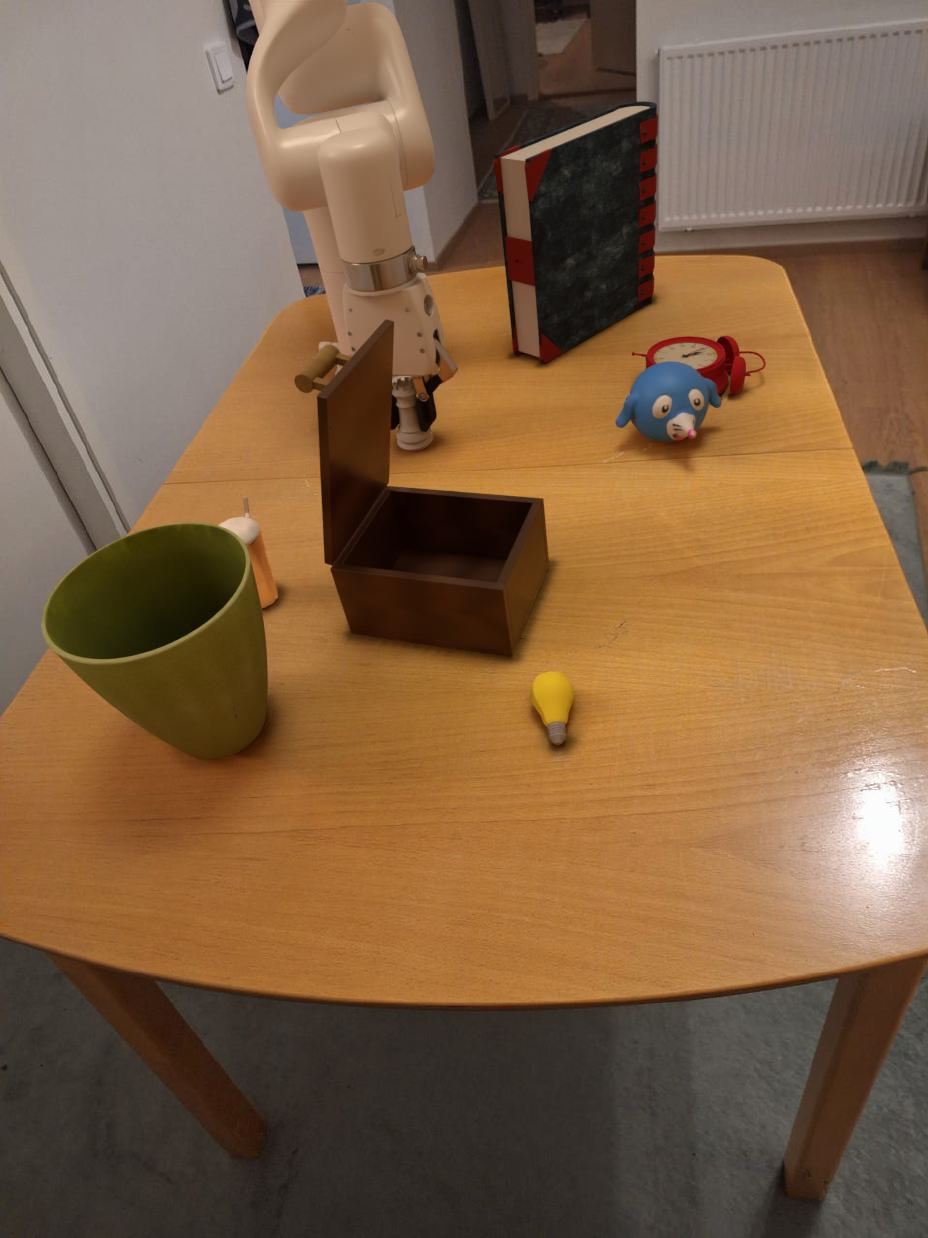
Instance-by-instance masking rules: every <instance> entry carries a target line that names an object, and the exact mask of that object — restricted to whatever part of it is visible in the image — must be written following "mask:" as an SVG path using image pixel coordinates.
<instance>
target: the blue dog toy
mask: <svg viewBox="0 0 928 1238" xmlns="http://www.w3.org/2000/svg"><path fill="white" fill-rule="evenodd" d="M709 405H710V406H712V408H715V409H719V408H721V406H722V398H721V397H720V396H719V394H718V393H717V387H716V384H715V383H714V382H713V381H712V380H710V379H706V378H704V377H702V376H701V375H700V374H699V372H698V371H697V370H695V369H694V368H693V367H691V366H689V365H687V364H684V363H681V362H673V361H669V362H661V363H658V364H655V365H653V366H651V367H649V368H647V369H646V370H645V369H644V370H643V371H642V372H640V374H639V375H637V377H636V378H635V380H634V381H633V383H632V385H631V388H630V390H629V395H627V397H626V399H625V401H624V402H623V404H622V408H621V410H620V412H619V414H618V416H617V417H616V419H615V421H614V422H615V425H616V427H617V428H618V429H623V428H625V427H627V425H628V424H629V423H630V422H631V424H632V425H633V427H635V429H636V430H637V431H638V432H639V434H641V435H642V436H643V437H645V438H647V439H648V440H650V441H654V442H656V443H675V442H679V441H683V440H684V439H686V438H688V439H691V440H692V439H694V438H696V437H697V430H698V429H699V428H700V427H701V425H702V424H703V422H704V420H705V418H706V417H707V416H706V415H707V414H708V409H709Z"/></svg>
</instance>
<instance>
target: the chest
mask: <svg viewBox="0 0 928 1238" xmlns="http://www.w3.org/2000/svg"><path fill="white" fill-rule="evenodd" d="M544 499H545V498H543V497H532V496H519V495H518V496H517V495H507V494H492V493H483V492H482V493H481V492H469V491H457V490H442V489H431V488H421V487H420V488H419V487H405V486H393V485H387V486H386V488H385V489H384V491H383V492H382V494H381V495H380V497H379V498H378V500H377V501H376V502H375V504H374V505H373V507H372V508H371V510H370V511H369V513H368V514H367V516H366V517H365V519H364V520H363V522H362V523H361V525H360V526H359V528H358V529H357V530H356V532H355V533H354V535H353V536H352V538H351V539H350V541H349V542H348V544H347V545H346V547H345V548H344V550H343V551H342V553H341V554H340V556H339V557H338V559H337V560H336V561H335V563H334V564H333V566H332V565H331V567H330V568H329V570H330V574H331V576H332V579H333V583H334V585H335V588H336V591H337V595H338V598H339V601H340V604H341V606H342V610H343V613H344V616H345V619H346V622H347V626H348V628H349V631H350V634H352V635H353V634H354V635H360V636H367V637H373V638H380V639H387V640H392V641H399V642H406V643H412V644H413V643H414V644H420V645H427V646H433V647H439V648H447V649H453V650H459V651H460V650H461V651H466V652H467V651H468V652H471V653H480V654H487V655H494V656H500V657H507V658H513V657H514V654H515V652H516V649H517V647H518V644H519V642H520V639H521V636H522V634H523V632H524V629H525V627H526V623H527V622H528V619H529V617H530V615H531V611H532V609H533V606H534V604H535V602H536V599H537V597H538V594H539V591H540V590H541V587H542V584H543V581H544V579H545V576H546V574H547V571H548V570H549V566H550V557H549V548H548V547H549V546H548V538H547V537H548V536H547V523H546V511H545V500H544Z"/></svg>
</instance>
